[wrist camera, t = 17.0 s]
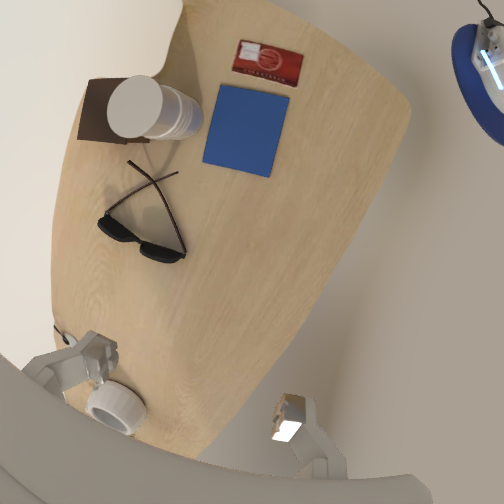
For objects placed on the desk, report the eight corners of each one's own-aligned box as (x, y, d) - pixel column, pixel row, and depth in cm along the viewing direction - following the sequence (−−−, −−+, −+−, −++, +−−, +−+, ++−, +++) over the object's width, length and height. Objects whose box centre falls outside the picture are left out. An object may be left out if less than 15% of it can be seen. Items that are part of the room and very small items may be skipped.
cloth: (221, 85, 34) (220, 85, 33) (289, 99, 33) (289, 98, 33) (202, 162, 38) (202, 162, 38) (269, 177, 38) (269, 177, 38)
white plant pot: (129, 377, 58) (112, 405, 49) (159, 417, 63) (147, 443, 54) (79, 373, 63) (63, 395, 53) (108, 410, 68) (95, 431, 58)
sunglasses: (216, 182, 39) (206, 186, 34) (184, 262, 44) (173, 275, 40) (126, 144, 38) (109, 145, 34) (104, 221, 44) (88, 229, 39)
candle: (156, 116, 36) (97, 105, 22) (191, 89, 34) (144, 62, 20) (177, 150, 38) (123, 152, 24) (215, 123, 36) (175, 109, 22)
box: (115, 86, 35) (89, 79, 28) (162, 87, 34) (139, 77, 27) (104, 138, 38) (76, 139, 31) (150, 144, 38) (124, 144, 31)
